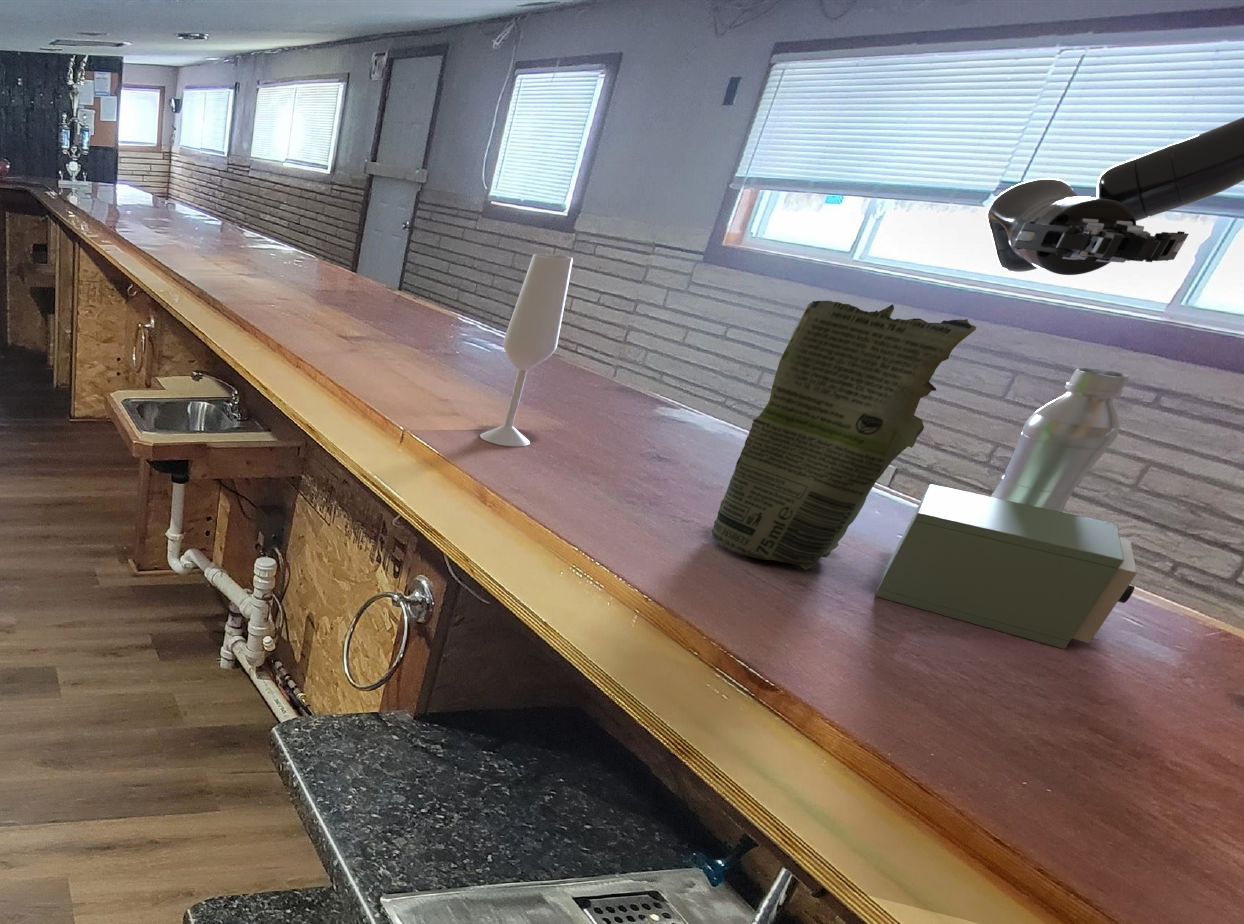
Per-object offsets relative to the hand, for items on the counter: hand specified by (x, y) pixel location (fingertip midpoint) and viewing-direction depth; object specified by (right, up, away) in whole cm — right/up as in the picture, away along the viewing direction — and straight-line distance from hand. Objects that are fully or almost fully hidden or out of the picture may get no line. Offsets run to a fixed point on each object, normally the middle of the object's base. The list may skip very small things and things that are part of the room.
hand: (1128, 247), depth 86 cm
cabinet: (-16, -34, 0) cm, 38 cm away
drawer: (-14, -34, -2) cm, 37 cm away
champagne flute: (-43, -10, +40) cm, 59 cm away
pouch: (-28, -29, +8) cm, 41 cm away
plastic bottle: (-6, -30, +7) cm, 32 cm away
